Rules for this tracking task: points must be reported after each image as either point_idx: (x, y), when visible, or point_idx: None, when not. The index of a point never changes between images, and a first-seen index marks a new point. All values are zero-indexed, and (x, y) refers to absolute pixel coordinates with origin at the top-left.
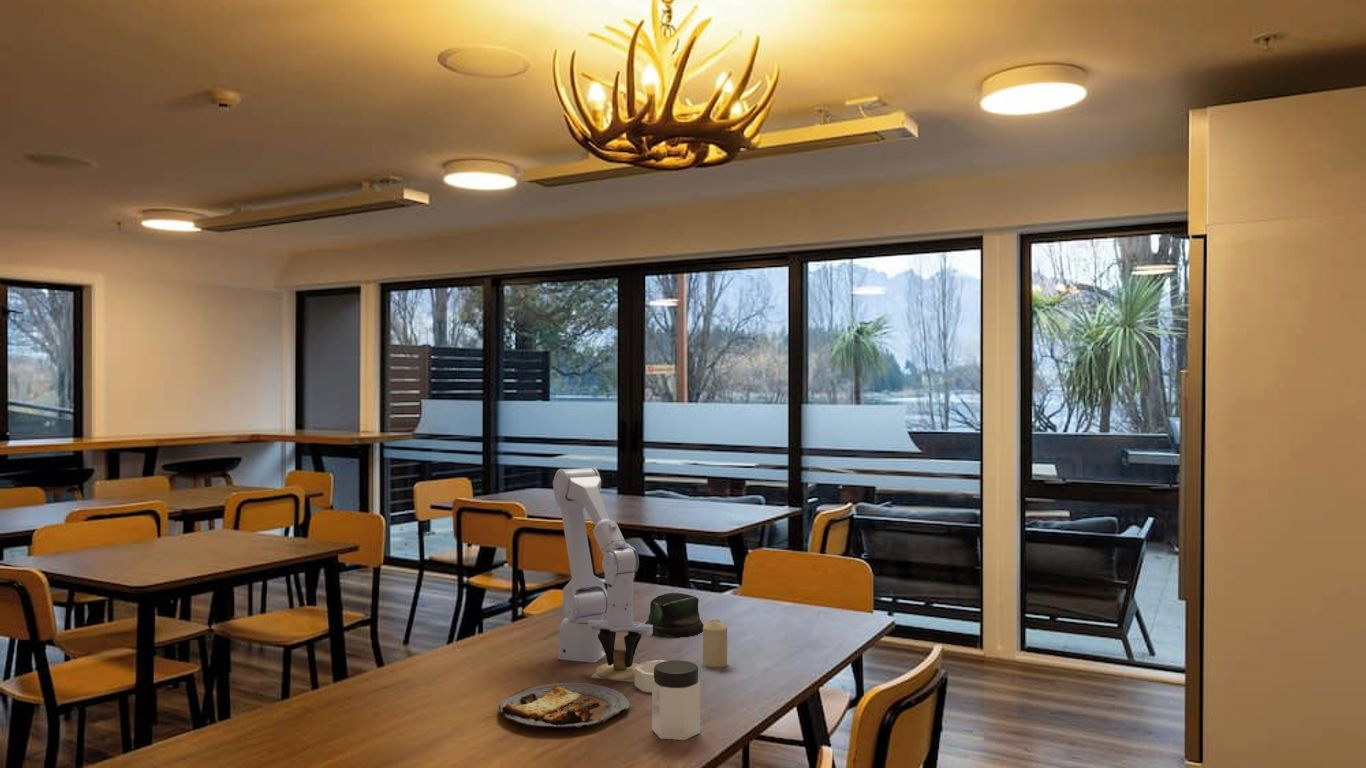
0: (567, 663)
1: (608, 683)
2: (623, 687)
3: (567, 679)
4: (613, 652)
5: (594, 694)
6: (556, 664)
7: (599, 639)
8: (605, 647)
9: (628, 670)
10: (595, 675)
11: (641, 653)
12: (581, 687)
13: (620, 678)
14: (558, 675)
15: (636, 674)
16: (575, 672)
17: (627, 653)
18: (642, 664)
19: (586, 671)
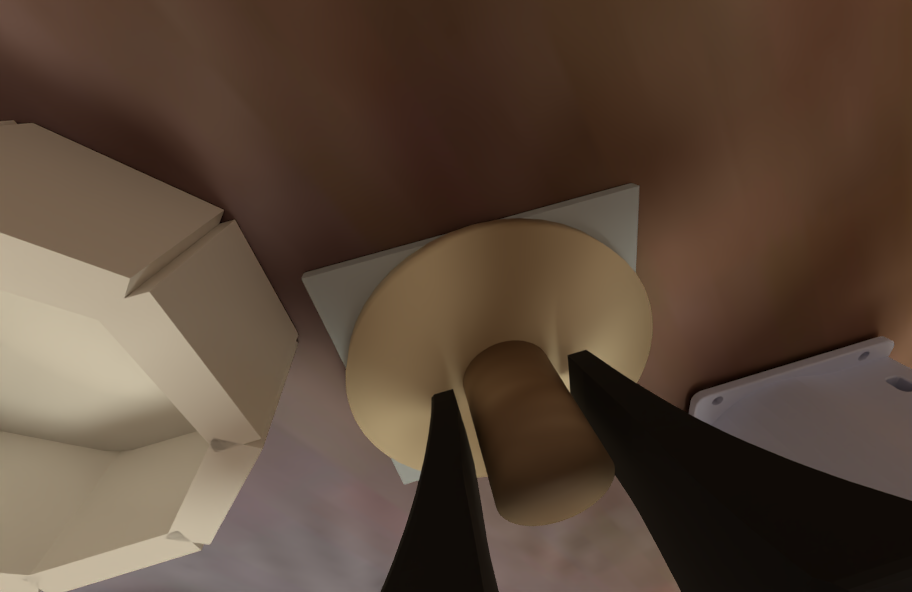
0: (825, 326)
1: (465, 176)
2: (301, 160)
3: (783, 80)
4: (598, 442)
5: None
6: (882, 284)
7: (878, 494)
8: (702, 441)
9: (442, 385)
10: (616, 235)
11: (554, 556)
12: None
13: (409, 261)
14: (857, 125)
15: (108, 233)
16: (757, 238)
17: (447, 480)
18: (197, 415)
19: (699, 287)
